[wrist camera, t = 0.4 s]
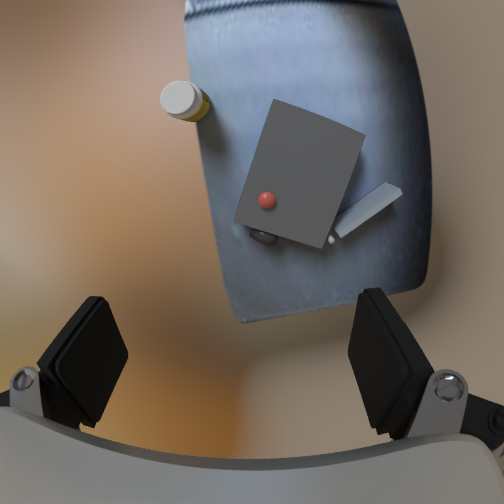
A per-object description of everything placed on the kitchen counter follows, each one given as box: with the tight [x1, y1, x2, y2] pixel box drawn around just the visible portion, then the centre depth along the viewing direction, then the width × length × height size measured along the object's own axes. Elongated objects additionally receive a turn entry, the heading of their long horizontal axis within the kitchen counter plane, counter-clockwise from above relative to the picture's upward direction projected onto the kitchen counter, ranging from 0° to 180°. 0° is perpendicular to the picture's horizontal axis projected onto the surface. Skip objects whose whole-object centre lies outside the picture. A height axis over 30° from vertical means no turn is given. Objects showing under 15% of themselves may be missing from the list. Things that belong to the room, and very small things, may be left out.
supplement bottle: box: [160, 81, 211, 122], centre depth 29 cm, size 5×5×8 cm
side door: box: [332, 182, 402, 238], centre depth 35 cm, size 11×2×5 cm, turn 128°
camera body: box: [234, 99, 365, 249], centre depth 34 cm, size 18×13×6 cm
